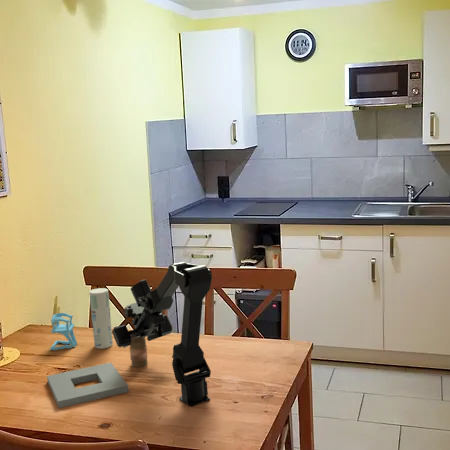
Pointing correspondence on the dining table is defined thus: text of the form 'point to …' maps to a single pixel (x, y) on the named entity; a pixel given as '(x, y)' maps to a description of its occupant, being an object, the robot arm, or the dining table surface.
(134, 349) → the lidded jar
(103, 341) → the spray can
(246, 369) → the dining table surface
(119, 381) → the slotted shelf board
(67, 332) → the chair
